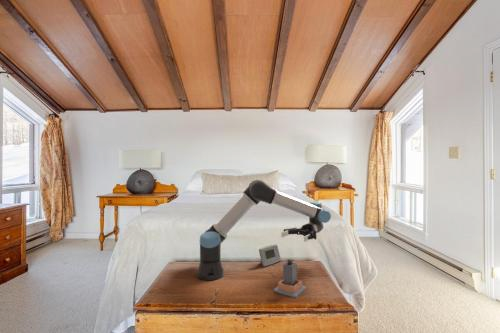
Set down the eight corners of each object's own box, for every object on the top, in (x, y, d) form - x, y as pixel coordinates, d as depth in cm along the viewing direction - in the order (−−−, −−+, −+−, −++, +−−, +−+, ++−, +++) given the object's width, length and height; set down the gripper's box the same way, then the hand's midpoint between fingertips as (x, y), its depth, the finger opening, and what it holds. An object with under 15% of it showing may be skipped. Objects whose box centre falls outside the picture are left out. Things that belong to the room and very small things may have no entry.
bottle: (283, 288, 137) (283, 260, 137) (287, 284, 142) (287, 257, 141) (292, 291, 135) (292, 262, 134) (296, 287, 139) (296, 259, 139)
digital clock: (263, 267, 168) (262, 250, 168) (255, 263, 175) (255, 246, 175) (284, 262, 176) (284, 246, 176) (276, 258, 184) (275, 242, 183)
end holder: (273, 291, 137) (273, 283, 137) (285, 282, 146) (285, 275, 146) (295, 297, 130) (295, 289, 130) (306, 288, 140) (306, 280, 139)
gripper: (328, 239, 160) (314, 248, 143) (290, 232, 175) (273, 239, 158) (329, 226, 160) (314, 233, 143) (290, 220, 175) (273, 226, 157)
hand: (293, 236), depth 150 cm, fingers open, 13 cm apart
